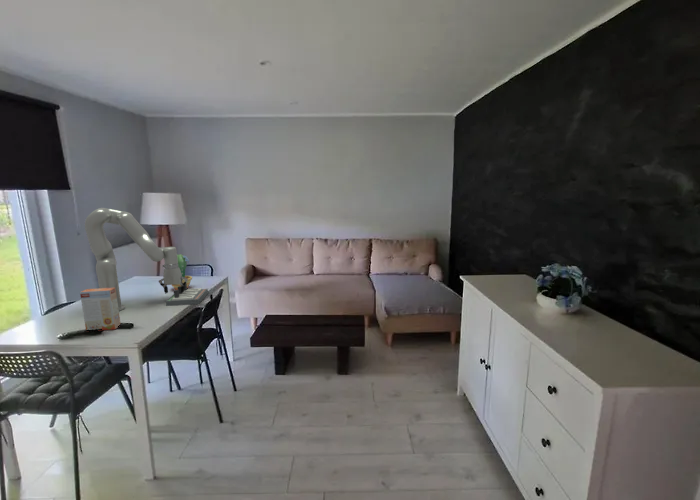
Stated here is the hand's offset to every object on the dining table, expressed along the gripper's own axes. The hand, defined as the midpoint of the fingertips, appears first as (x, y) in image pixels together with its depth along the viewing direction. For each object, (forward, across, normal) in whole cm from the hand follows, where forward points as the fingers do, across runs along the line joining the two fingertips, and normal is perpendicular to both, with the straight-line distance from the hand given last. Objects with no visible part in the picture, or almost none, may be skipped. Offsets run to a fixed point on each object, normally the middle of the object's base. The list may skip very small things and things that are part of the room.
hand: (174, 292), depth 225 cm
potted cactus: (+5, -4, +26) cm, 27 cm away
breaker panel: (+5, +8, 0) cm, 9 cm away
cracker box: (+5, -21, -43) cm, 48 cm away
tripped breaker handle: (0, +4, 0) cm, 4 cm away
